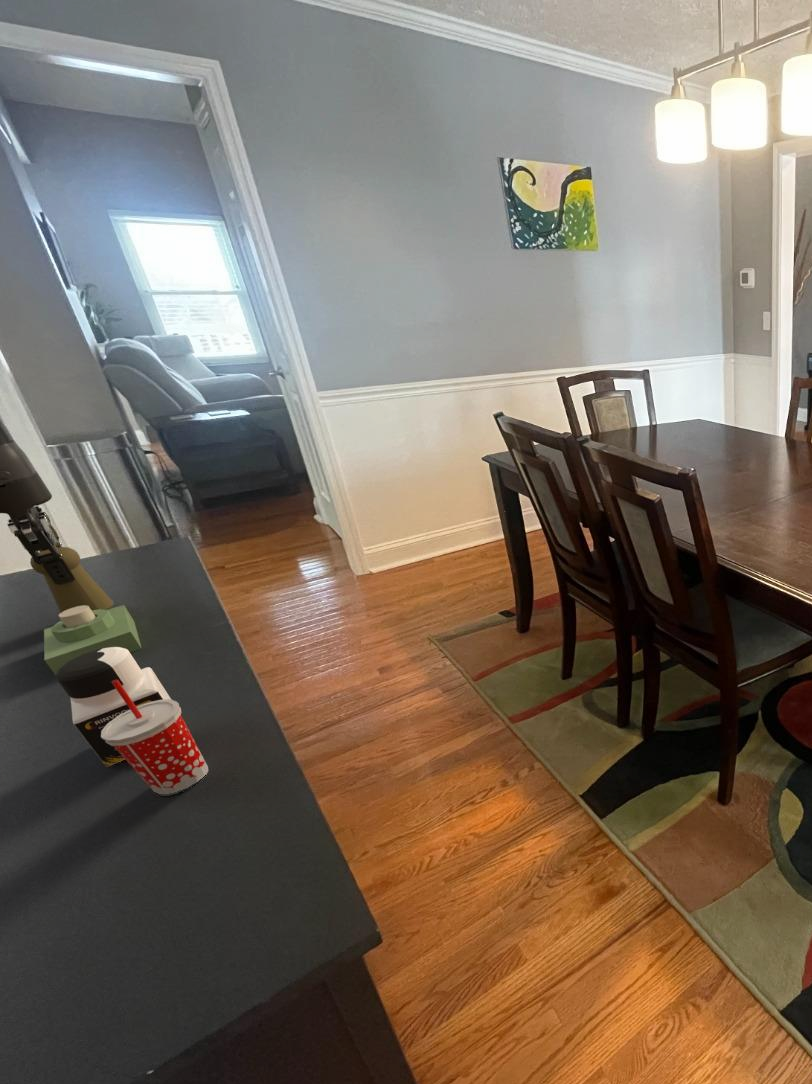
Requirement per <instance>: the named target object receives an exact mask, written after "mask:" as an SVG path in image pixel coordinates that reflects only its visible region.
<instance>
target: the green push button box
mask: <svg viewBox="0 0 812 1084" xmlns="http://www.w3.org/2000/svg"><path fill="white" fill-rule="evenodd" d="M92 612H93V614H94V615H95V617H96V618H95V619H94V620H92V621H90V622H88V623H85V624H82V625H79V626H75V627H69V628H66V626H65V625H64V623H63V622H62V620H59V621H58V622H57V623H55V624H54V625H52V626H51V627H50V626H49V627H48V628H44V629H43V650H44V651H43V652H44V653H43V654H44V658H43V659H44V662H45V663H46V664H47V666H48V667H49V668H50V670H51V671H52V672H53V674H54V675H55V676H56V674H57V671H58V670H59V669H60V668H61V667H62V666H63V665H65V664H66V663H68V662H69V661H71V660H72V659H74V658H76V657H78V656H80V655H82V654H85V653H88V652H91V651H94V650H98V649H103V648H110V647H121V648H125V649H127V650H128V651H129V652H130V654H131V653H133V652H136V650H137V651H139V650H142V649H143V648H142V645H141V641H140V637H139V634H138V629H137V626H136V623H135V620H134V618H133V617H132V615H131V614H130V612H129V611H128V609H127V608H126V606H125V605H124V604H122V605H119V606H115V607H112V608H108V609H107V610H102V609H98V610H92Z"/></svg>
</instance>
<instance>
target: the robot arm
mask: <svg viewBox="0 0 812 1084" xmlns="http://www.w3.org/2000/svg"><path fill="white" fill-rule="evenodd" d="M52 498H53V495H52V493H51V492H50V490H49V488H48V487H47V485H46V484H45V481H44V480H43V479H42V477H41V476H40V474H39V472H38V471H37V469H36V468H35V467H34V465H33V463H32V461H31V459H30V458H29V457H28V455H27V454H26V452H25V451H24V450H23V449H22V448H21V447H20V445H18V443H17V442H16V441H15V440H14V438H13V436H12V434H11V433H10V431H9V430H8V428H7V427H6V426H5V423H4V422H3V420H2V419H1V418H0V514H6V515H8V517H9V518H8V519H7V522H8V523H6V525H7V527H8V529H9V531H10V532H11V533H12V534H13V535H14V537H16V538H17V539H18V541H19V542H20V544H21V545H22V547H23V549H24V550H25V551H26V552H28V554H29V555H30V557H32V558H33V559H34V562H35V563H37V564H38V565H43V567H44V568H45V570H46V571H47V573H48V574H49V576H50V577H51V578H52V580H53V581H54V583H55V584H57V585H62V584H65V583H69V582H72V581H74V580H75V577H74V575H73V574H72V572H71V571H70V569H69V567H68V566H67V564H66V563H65V561H64V560H63V558H62V557H63V555H62V554H60V552H59V551H58V549H57V547H63V546H62V545H63V543H62V542H60V536H59V534H58V532H57V530H56V528H55V527H54V525H53V524H52V522H51V519H50V517H49V515H48V514H47V512H46V511H43V509H42V507H40V506H41V505H43V504H45V503H48V502H50V501H51V500H52ZM48 549H49V551H50V552H51V553H48V554H44V555H40V554H39V552H42V551H45V550H48Z"/></svg>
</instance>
